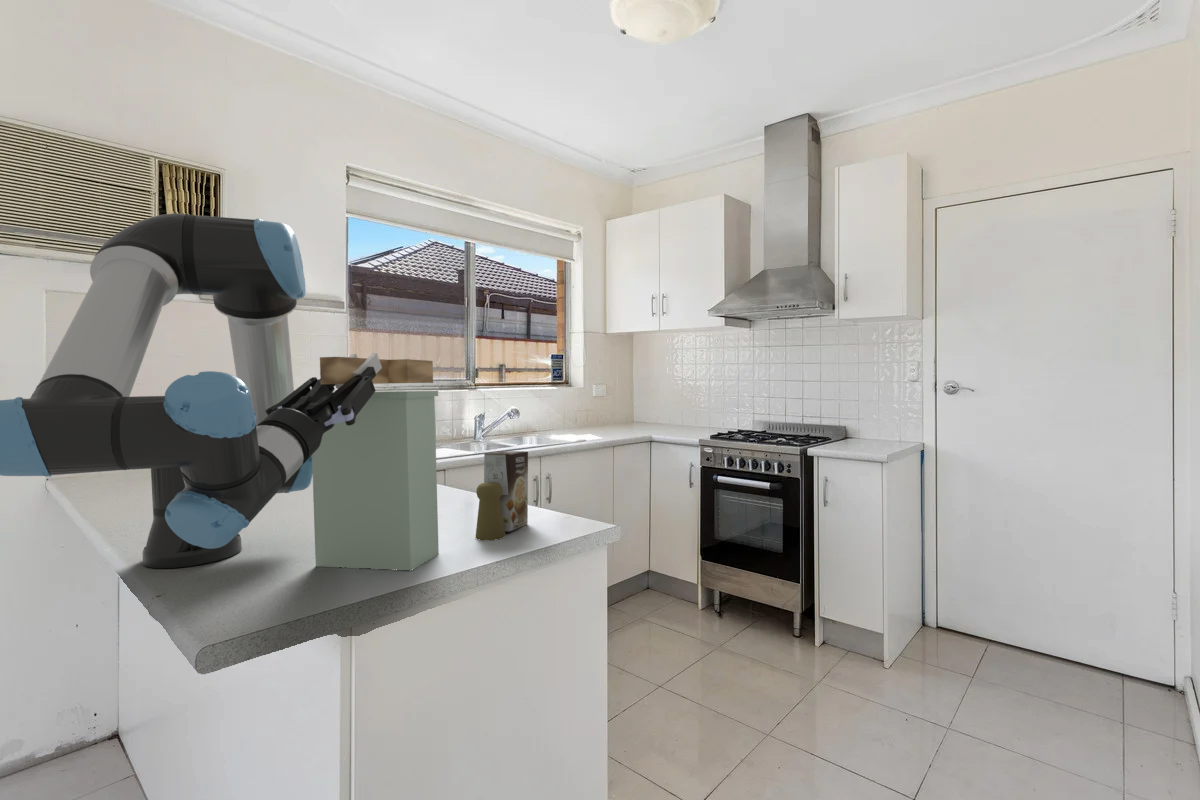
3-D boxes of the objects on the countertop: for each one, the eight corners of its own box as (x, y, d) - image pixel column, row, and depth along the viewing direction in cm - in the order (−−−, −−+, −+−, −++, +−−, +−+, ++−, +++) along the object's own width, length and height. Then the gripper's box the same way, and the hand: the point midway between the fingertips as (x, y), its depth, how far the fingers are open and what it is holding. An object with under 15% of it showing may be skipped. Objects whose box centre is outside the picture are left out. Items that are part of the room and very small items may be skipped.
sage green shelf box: (311, 567, 102) (305, 393, 101) (350, 548, 113) (345, 391, 112) (412, 572, 99) (407, 392, 98) (442, 553, 109) (438, 390, 108)
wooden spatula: (299, 384, 89) (299, 357, 88) (383, 383, 111) (382, 362, 110) (360, 383, 87) (359, 356, 86) (433, 382, 109) (432, 360, 109)
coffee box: (511, 532, 122) (511, 453, 122) (482, 530, 123) (482, 453, 124) (528, 524, 131) (528, 450, 131) (502, 522, 132) (502, 450, 133)
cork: (499, 541, 117) (498, 485, 117) (470, 540, 118) (469, 485, 118) (509, 533, 123) (508, 480, 123) (482, 532, 124) (481, 480, 124)
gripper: (238, 468, 81) (331, 381, 101) (343, 469, 78) (418, 379, 97) (213, 422, 77) (315, 341, 97) (323, 422, 74) (405, 338, 93)
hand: (366, 361), depth 97 cm, fingers closed on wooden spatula, 3 cm apart
